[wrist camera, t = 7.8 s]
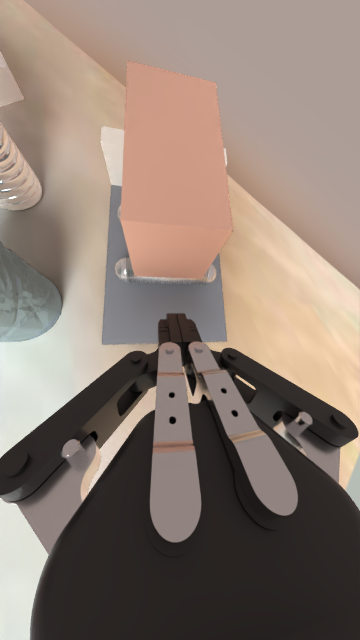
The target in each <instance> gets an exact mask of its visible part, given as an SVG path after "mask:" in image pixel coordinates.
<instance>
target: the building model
mask: <svg viewBox="0 0 360 640" xmlns="http://www.w3.org/2000/svg"><path fill="white" fill-rule="evenodd" d="M20 100H24V97H23V95H22V93H21V91H20V89H19V87H18V85H17V83H16V81H15V79H14V77H13V75H12V73H11V71H10V69H9V67H8V65H7V63H6V61H5V59H4V57H3V55H2V53H1V51H0V107H1V106H5V105H8V104H11V103H14V102H17V101H20Z"/></svg>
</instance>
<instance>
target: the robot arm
mask: <svg viewBox="0 0 360 640" xmlns="http://www.w3.org/2000/svg"><path fill="white" fill-rule="evenodd" d="M182 366H184V368H185V371H184V373H183V370H182ZM236 375H238V376H240V377H241V378H243V379H244V380H246V381H247V382H248V383H250V384H251V385H253V386H254V387H255V388H256V390H254V389H252V388H251V387H249V386H248V385H246V384H245V383H243V382H242V381H241V380H239V379H238V378H236ZM186 384H187V388H188V391H189V395H190V398H191V403H188V397H187V388H186ZM155 386H157V389H156V406H155V410H153V411H151V412H150V413H148V414H147V415H145V416H144V417H143V418H142V419H141V420H140V421H139V422H138V424H137V425H136V426H135V428H134V429H133V431H132V432H131V434H130V435H129V436H128V438H127V439H126V441H125V442H124V444H123V445H122V446H121V448H120V449H119V451H118V452H117V454H116V455H115V456H114V458H113V459H112V461H111V462H110V464H109V465H108V466H107V468H106V469H105V471H104V472H103V474H102V475H101V476H100V478H99V479H98V481H97V482H96V484H95V485H94V486H93V488H92V489H91V491H90V492H89V494H88V489H89V486H90V483H91V481H92V479H93V477H94V475H95V474H96V472H97V470H98V468H99V466H100V462H101V453H100V450H99V449H100V448H101V447H102V446H103V444H104V443H105V442H106V441H107V440H108V438H109V437H110V436H111V435H112V434H113V432H114V431H115V430H116V429H117V428H118V426H119V425H120V424H121V423H122V422H123V420H124V419H125V418H126V417H127V416H128V414H129V413H130V412H131V411H132V410H133V408H134V407H135V406H136V405H137V404H138V402H139V401H140V400H141V399H142V398H143V396H144V395H145V394H146V393H147V391H148V389H150V388H152V387H155ZM357 437H358V430H357V428H356V426H355V424H354V423H353V422H352V421H351V420H350V419H349V418H348V417H347V416H346V415H345V414H343V413H342V412H341V411H339V410H337V409H336V408H334V407H332V406H330V405H329V404H327V403H325V402H324V401H322V400H320V399H319V398H317V397H315V396H313V395H312V394H310V393H308V392H307V391H305V390H303V389H302V388H300V387H298V386H297V385H295V384H293V383H291V382H290V381H288V380H286V379H285V378H283V377H281V376H280V375H278V374H276V373H275V372H273V371H271V370H269V369H268V368H266V367H264V366H263V365H261V364H259V363H258V362H256V361H254V360H252V359H251V358H249V357H247V356H246V355H244V354H242V353H241V352H239V351H237V350H235V349H232V348H225V349H223V350H222V353H221V352H216V351H212V350H210V349H209V347H208V346H207V345H206V344H204V343H203V342H202V340H201V337H200V334H199V332H198V329H197V327H196V324H195V322H194V321H192V320H191V319H187V318H186V315H185V313H167V314H166V319H160V321H159V322H158V349H157V350H156V351H155V352H153V353H151V354H146V353H144V352H142V351H133V352H130V353H128V354H127V355H126V356H125V357H123V358H122V359H121V360H120V361H118V362H117V363H116V364H115V365H114V366H112V367H111V368H110V369H109V370H107V371H106V372H105V373H104V374H102V375H101V376H100V377H99V378H97V379H96V380H95V381H94V382H93V383H91V384H90V385H89V386H88V387H86V388H85V389H84V390H83V391H81V392H80V393H79V394H78V395H76V396H75V397H74V398H73V399H72V400H70V401H69V402H68V403H67V404H65V405H64V406H63V407H62V408H60V409H59V410H58V411H57V412H55V413H54V414H53V415H52V416H51V417H49V418H48V419H47V420H46V421H44V422H43V423H42V424H41V425H39V426H38V427H37V428H36V429H35V430H33V431H32V432H31V433H30V434H28V435H27V436H26V437H25V438H23V439H22V440H21V441H20V442H18V443H17V444H16V445H15V446H14V447H12V448H11V449H10V450H9V451H7V452H6V453H5V454H4V455H3V456H2V457H1V458H0V498H2V499H3V500H4V501H5V502H7V503H9V504H12V505H14V506H16V507H19V508H20V510H21V512H22V513H23V515H24V516H25V518H26V519H27V521H28V523H29V524H30V526H31V527H32V529H33V531H34V532H35V534H36V535H37V537H38V538H39V540H40V542H41V543H42V545H43V546H44V548H45V549H46V551H47V553H48V554H49V556H48V559H47V561H46V563H45V566H44V568H43V571H42V574H41V577H40V580H39V583H38V586H37V590H36V594H35V599H34V603H33V609H32V616H31V627H30V640H360V511H359V509H358V507H357V506H356V505H355V503H354V501H352V499H351V497H350V496H349V495H348V494H347V492H346V491H345V490H344V489H343V488H342V487H341V486H340V485H339V463H340V448H341V447H342V446H344V445H345V444H347V443H349V442H350V441H352V440H354V439H355V438H357Z"/></svg>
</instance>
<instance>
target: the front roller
mask: <svg viewBox="0 0 360 640" xmlns="http://www.w3.org/2000/svg"><path fill="white" fill-rule="evenodd" d="M115 272H116V275H117V277H118V278H119V279H120V280H121V281H123V282H127V283H151V284H181V285H209V284H211V283H212V282H213V281H214V280H215V278H216V269H215V267H214V266H213V265H212V264H211V265H210V267H209V269H208V270H207V272H206V273H205V275H204V276H203V278H202V279H191V278H166V277H141V276H134V272H133V268H132V264H131V260H130V258H122V259H120V260H119V261H118V262H117V263H116V265H115Z"/></svg>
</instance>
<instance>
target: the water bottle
mask: <svg viewBox="0 0 360 640" xmlns="http://www.w3.org/2000/svg"><path fill="white" fill-rule="evenodd" d="M41 196H42V187H41V184H40V182H39V180H38V178H37V176H36V175H35V173H34V171H33V170H32V168H31V167H30V165H29V164H28V162H27V161H26V160H25V158H24V156H23V155H22V153H21V152H20V150H19V149H18V147H17V146H16V144H15V143H14V141H13V140H12V138H11V136H10V135H9V134H8V132H7V131H6V129H5V128H4V126H3V124H2V123H1V121H0V207H1V208H4V209H7V210H25V209H28V208H30V207H32V206H34V205H35V204H36V203H37V202H38V201H39V200H40V198H41Z"/></svg>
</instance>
